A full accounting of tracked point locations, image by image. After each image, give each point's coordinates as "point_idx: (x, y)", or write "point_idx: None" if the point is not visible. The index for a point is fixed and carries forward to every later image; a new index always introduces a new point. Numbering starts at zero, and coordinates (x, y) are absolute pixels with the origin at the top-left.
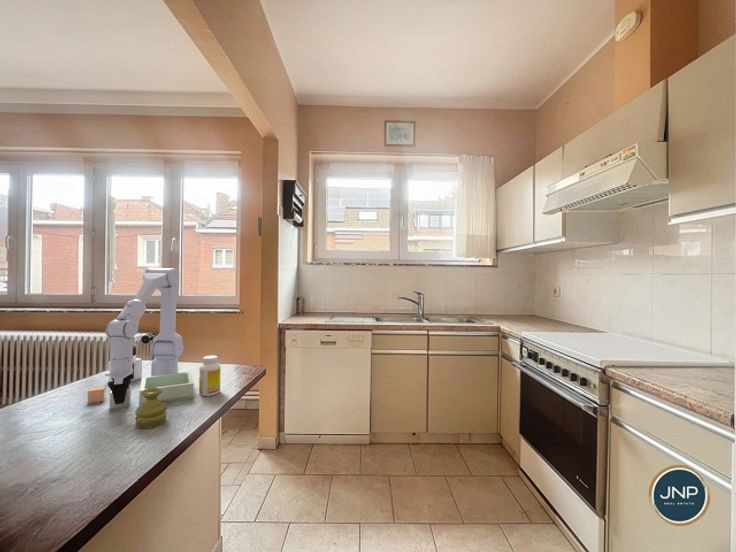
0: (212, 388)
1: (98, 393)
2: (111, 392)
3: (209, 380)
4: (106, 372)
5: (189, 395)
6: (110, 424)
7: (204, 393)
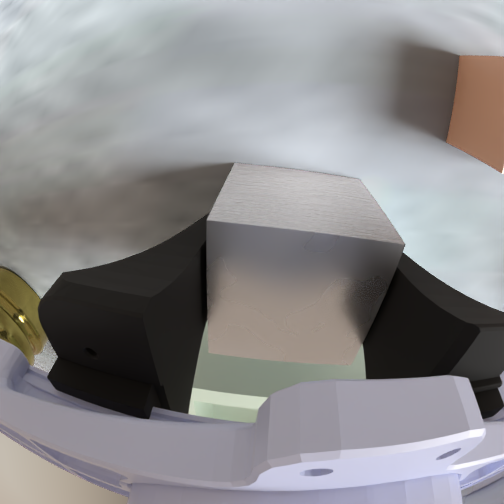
0: None
1: (491, 125)
2: (214, 236)
3: None
4: (459, 445)
5: None
6: (17, 190)
7: None
